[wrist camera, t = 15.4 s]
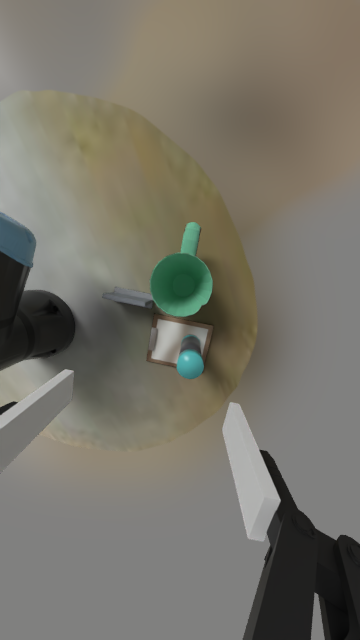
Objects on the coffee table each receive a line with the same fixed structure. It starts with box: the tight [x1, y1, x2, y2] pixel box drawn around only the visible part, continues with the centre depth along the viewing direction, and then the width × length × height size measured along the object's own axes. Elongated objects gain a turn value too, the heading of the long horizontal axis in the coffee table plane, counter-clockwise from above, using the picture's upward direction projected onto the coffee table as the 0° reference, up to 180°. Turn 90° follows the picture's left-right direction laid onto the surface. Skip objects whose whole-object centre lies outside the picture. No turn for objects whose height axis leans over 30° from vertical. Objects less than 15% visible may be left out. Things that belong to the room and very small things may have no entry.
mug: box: [150, 222, 213, 317], centre depth 32 cm, size 15×10×10 cm
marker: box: [177, 334, 204, 379], centre depth 33 cm, size 4×4×11 cm
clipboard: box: [146, 314, 214, 373], centre depth 39 cm, size 13×11×1 cm
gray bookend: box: [102, 287, 153, 309], centre depth 35 cm, size 8×3×6 cm, turn 79°
